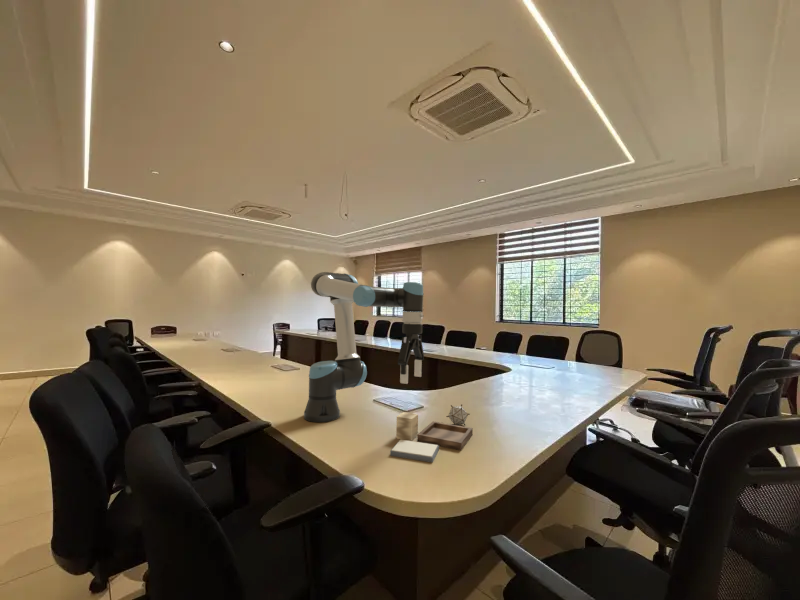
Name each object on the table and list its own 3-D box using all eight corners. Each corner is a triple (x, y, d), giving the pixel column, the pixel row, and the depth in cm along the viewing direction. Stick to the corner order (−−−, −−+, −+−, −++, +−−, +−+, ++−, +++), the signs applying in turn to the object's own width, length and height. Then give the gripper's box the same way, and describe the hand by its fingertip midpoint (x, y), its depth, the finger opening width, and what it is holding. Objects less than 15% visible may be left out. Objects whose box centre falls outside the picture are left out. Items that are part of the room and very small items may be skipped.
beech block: (396, 438, 123) (396, 416, 123) (403, 433, 128) (403, 412, 128) (411, 441, 120) (411, 419, 120) (417, 435, 125) (418, 414, 126)
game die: (461, 435, 137) (469, 420, 131) (442, 426, 138) (449, 411, 133) (466, 419, 144) (473, 404, 138) (447, 410, 145) (454, 395, 140)
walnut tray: (417, 441, 120) (417, 434, 120) (432, 427, 134) (433, 421, 134) (461, 450, 113) (461, 442, 113) (472, 434, 127) (472, 428, 127)
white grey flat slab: (390, 455, 108) (390, 450, 108) (399, 443, 118) (399, 438, 118) (432, 462, 104) (432, 456, 104) (438, 449, 113) (439, 444, 113)
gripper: (408, 324, 113) (407, 387, 113) (432, 322, 136) (431, 374, 136) (389, 323, 116) (387, 385, 116) (415, 321, 139) (414, 373, 139)
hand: (411, 379), depth 126 cm, fingers open, 13 cm apart
